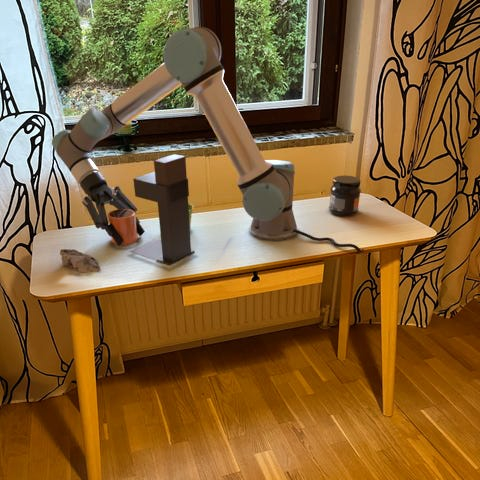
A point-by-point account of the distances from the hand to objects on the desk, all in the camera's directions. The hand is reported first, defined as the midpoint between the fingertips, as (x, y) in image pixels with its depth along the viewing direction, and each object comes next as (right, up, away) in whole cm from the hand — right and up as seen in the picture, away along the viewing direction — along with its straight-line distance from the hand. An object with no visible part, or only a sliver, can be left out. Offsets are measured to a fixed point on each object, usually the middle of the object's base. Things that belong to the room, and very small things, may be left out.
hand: (131, 238), depth 157 cm
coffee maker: (+10, -6, -5) cm, 13 cm away
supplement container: (+71, +14, +26) cm, 77 cm away
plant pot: (+14, +4, +11) cm, 18 cm away
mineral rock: (-12, -11, -11) cm, 20 cm away
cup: (-3, -1, +3) cm, 4 cm away
